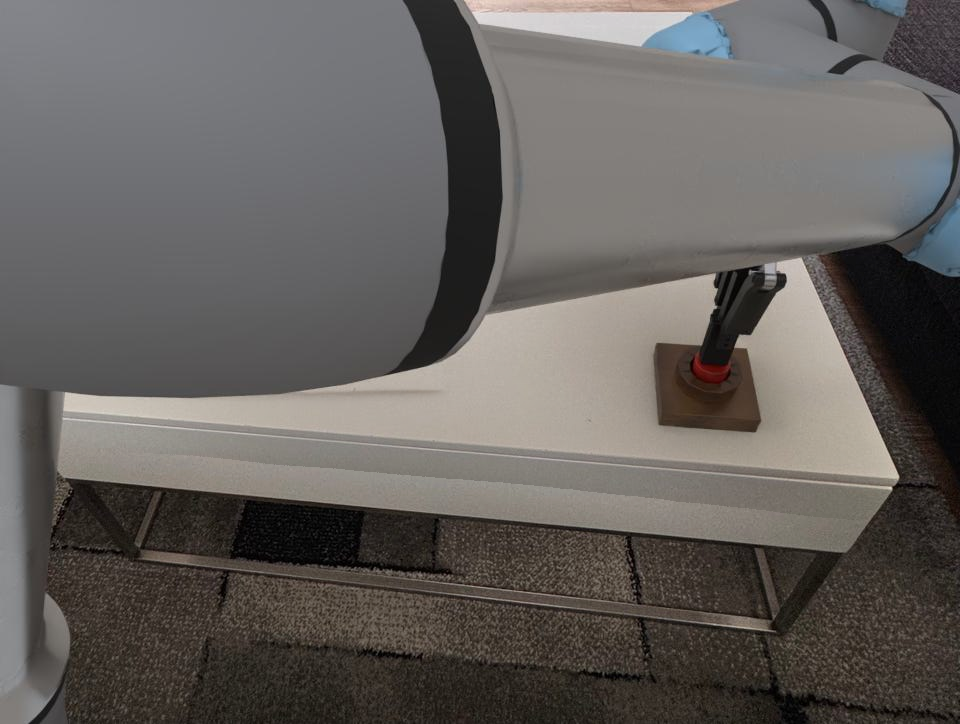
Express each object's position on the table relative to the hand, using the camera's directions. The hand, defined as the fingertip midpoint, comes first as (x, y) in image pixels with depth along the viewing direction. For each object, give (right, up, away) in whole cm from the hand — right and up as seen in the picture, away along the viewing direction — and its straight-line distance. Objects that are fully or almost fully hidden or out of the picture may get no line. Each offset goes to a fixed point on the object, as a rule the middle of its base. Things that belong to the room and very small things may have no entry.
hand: (713, 359), depth 71 cm
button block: (0, -4, +4) cm, 6 cm away
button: (0, -1, +2) cm, 2 cm away
